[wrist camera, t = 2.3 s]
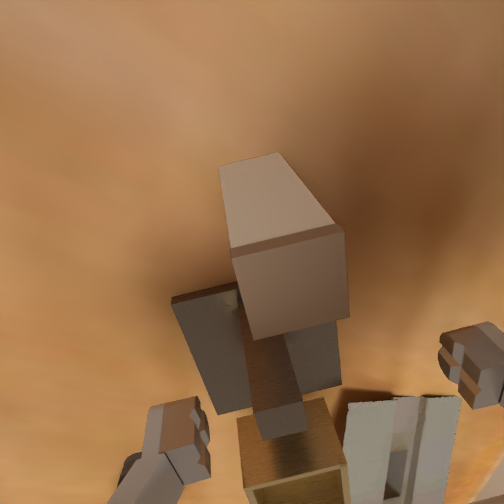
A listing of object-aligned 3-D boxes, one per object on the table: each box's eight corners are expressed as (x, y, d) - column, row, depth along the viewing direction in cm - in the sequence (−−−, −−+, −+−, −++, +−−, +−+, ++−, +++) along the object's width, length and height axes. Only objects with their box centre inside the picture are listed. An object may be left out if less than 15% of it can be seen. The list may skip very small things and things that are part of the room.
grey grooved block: (297, 384, 45) (293, 531, 41) (347, 401, 36) (347, 590, 33) (400, 381, 52) (404, 506, 49) (462, 395, 44) (473, 548, 40)
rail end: (279, 151, 25) (344, 231, 13) (288, 208, 27) (349, 317, 16) (217, 166, 25) (231, 258, 13) (231, 222, 27) (253, 340, 16)
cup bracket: (327, 259, 30) (402, 382, 19) (338, 377, 38) (395, 510, 27) (171, 297, 30) (154, 442, 19) (217, 407, 38) (224, 553, 27)
